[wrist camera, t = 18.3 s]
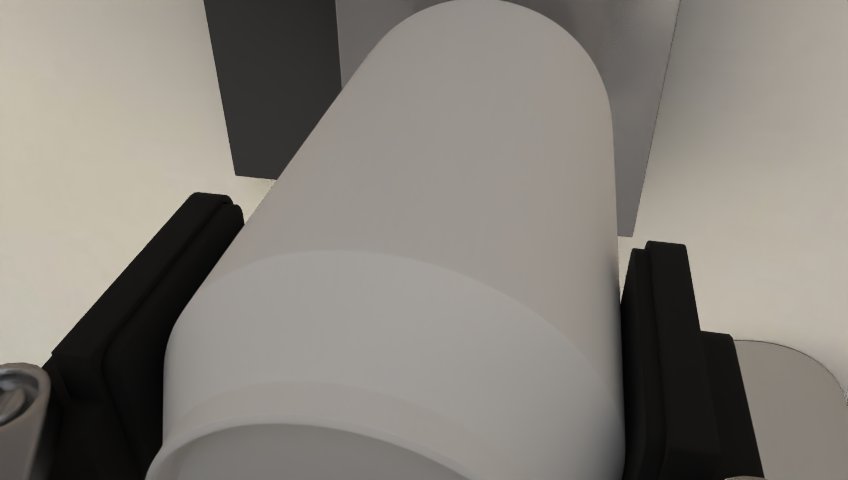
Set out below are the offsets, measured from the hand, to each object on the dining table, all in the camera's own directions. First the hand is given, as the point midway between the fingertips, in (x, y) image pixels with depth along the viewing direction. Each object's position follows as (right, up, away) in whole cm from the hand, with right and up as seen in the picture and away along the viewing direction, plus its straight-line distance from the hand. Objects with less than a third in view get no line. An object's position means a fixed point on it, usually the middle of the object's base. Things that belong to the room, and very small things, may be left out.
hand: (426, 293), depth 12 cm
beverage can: (+1, +4, +6) cm, 7 cm away
